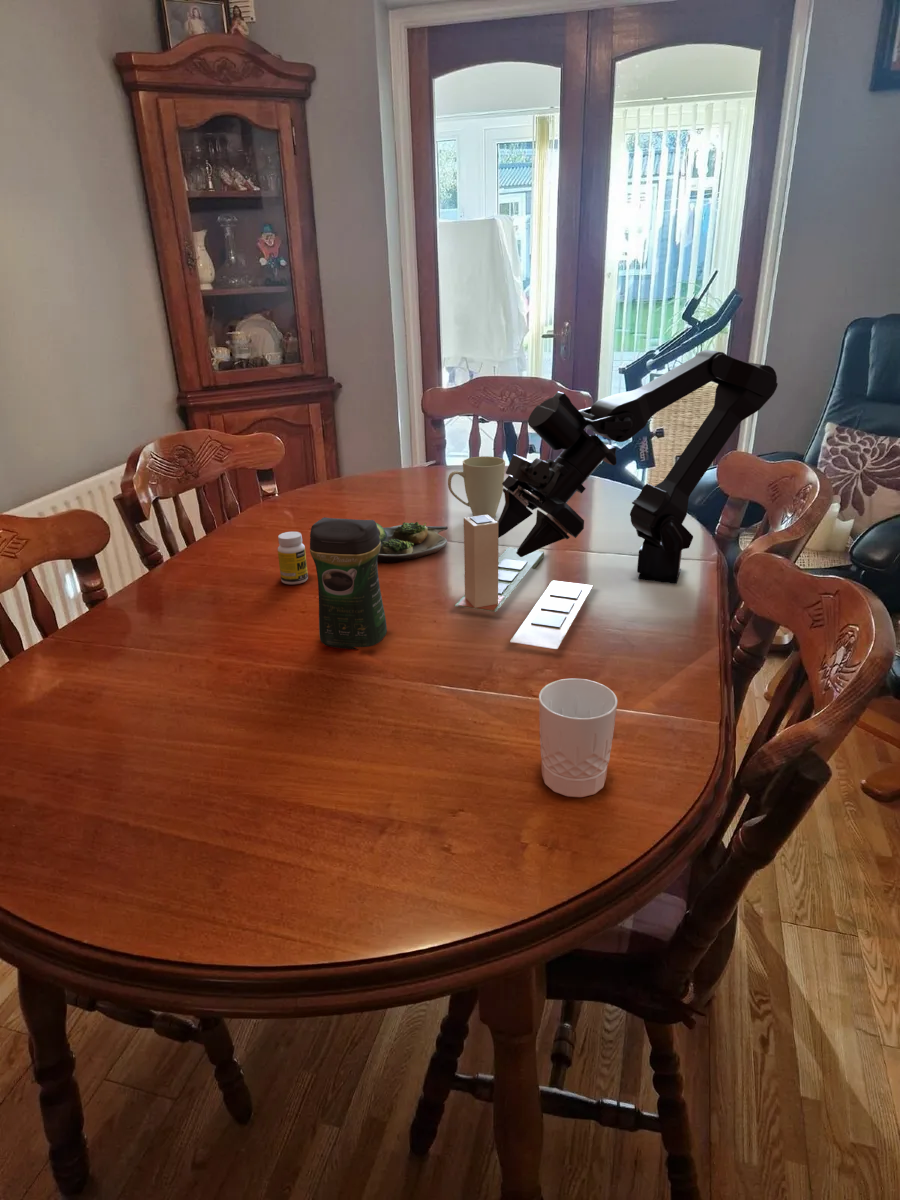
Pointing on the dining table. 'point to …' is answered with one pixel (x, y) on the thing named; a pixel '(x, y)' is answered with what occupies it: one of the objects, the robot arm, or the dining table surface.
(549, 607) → the strip
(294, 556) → the supplement bottle
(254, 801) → the dining table surface
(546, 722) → the white cup
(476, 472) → the mug
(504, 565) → the strip
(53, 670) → the dining table surface
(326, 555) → the coffee jar
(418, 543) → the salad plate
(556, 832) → the dining table surface
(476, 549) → the cream tall square block
